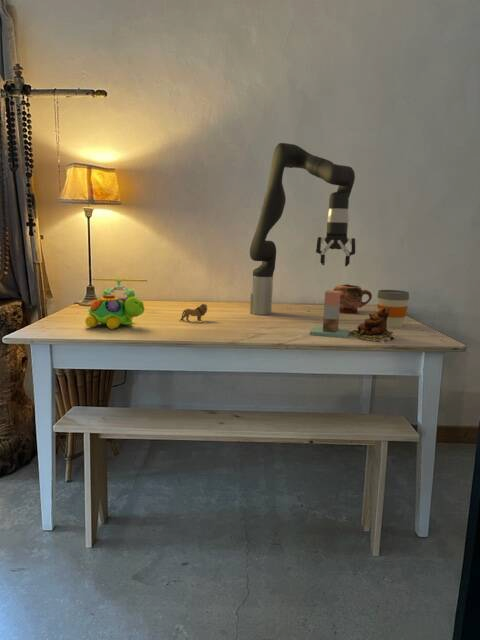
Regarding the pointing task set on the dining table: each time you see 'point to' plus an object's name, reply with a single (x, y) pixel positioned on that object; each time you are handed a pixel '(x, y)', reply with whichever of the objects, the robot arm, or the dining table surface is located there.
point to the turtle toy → (114, 311)
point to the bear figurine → (374, 327)
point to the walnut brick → (330, 325)
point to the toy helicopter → (119, 287)
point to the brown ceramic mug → (351, 298)
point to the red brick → (332, 298)
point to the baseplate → (340, 332)
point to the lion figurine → (195, 312)
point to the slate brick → (331, 312)
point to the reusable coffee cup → (394, 306)
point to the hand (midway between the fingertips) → (334, 265)
